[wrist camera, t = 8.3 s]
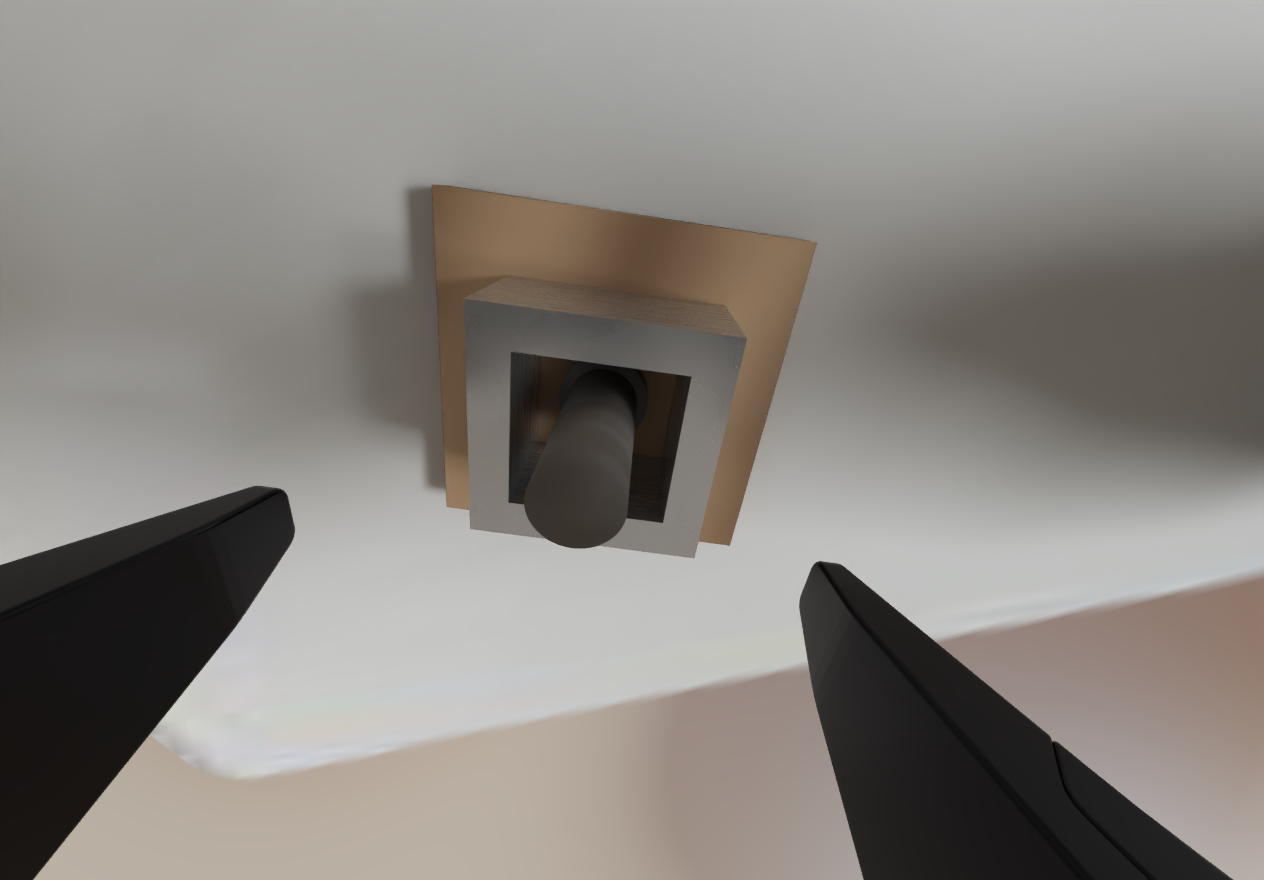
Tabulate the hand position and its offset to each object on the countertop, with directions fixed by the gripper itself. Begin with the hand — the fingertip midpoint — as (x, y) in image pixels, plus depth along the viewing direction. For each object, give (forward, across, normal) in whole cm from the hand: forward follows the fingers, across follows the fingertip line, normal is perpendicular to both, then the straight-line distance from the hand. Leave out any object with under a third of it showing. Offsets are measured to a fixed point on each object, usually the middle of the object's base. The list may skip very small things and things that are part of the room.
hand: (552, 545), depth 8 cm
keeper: (+8, 0, 0) cm, 8 cm away
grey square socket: (+7, 0, 0) cm, 7 cm away
